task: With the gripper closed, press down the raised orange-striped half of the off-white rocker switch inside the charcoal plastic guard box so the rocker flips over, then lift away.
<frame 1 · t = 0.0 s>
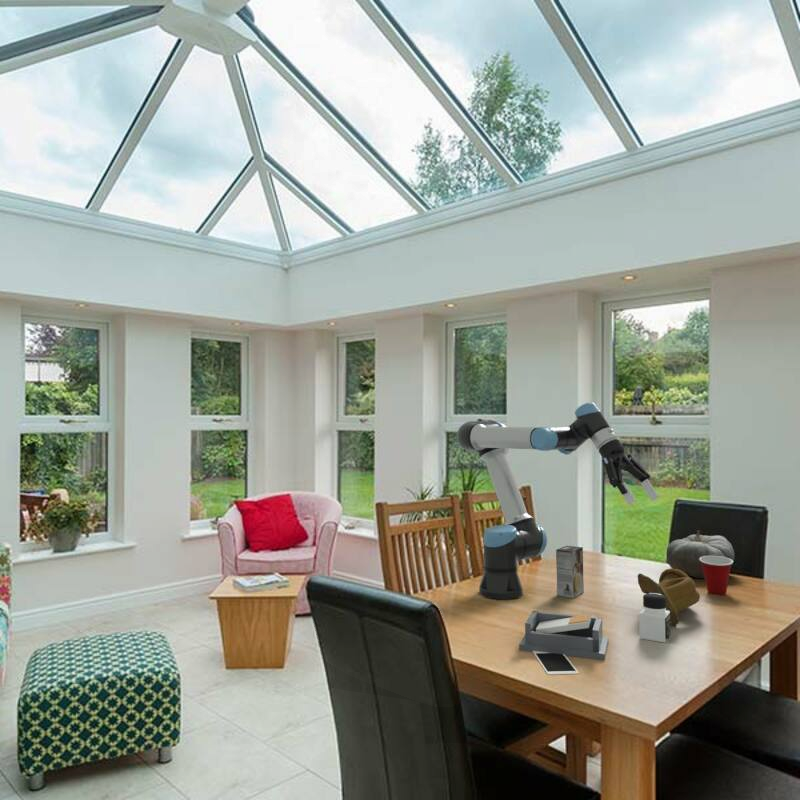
hand: (644, 500, 208), 36 cm above the table, fingers open, 13 cm apart
medicine bottle: (655, 638, 188), on the table
cell phone: (554, 664, 170), on the table
plastic cup: (716, 593, 234), on the table
brown cowboy hat: (669, 616, 208), on the table
gourd: (699, 575, 262), on the table
coffee box: (570, 594, 235), on the table
rocker: (563, 624, 182), point 6 cm above the table, hinge at -14.0°
guard box: (564, 646, 182), on the table
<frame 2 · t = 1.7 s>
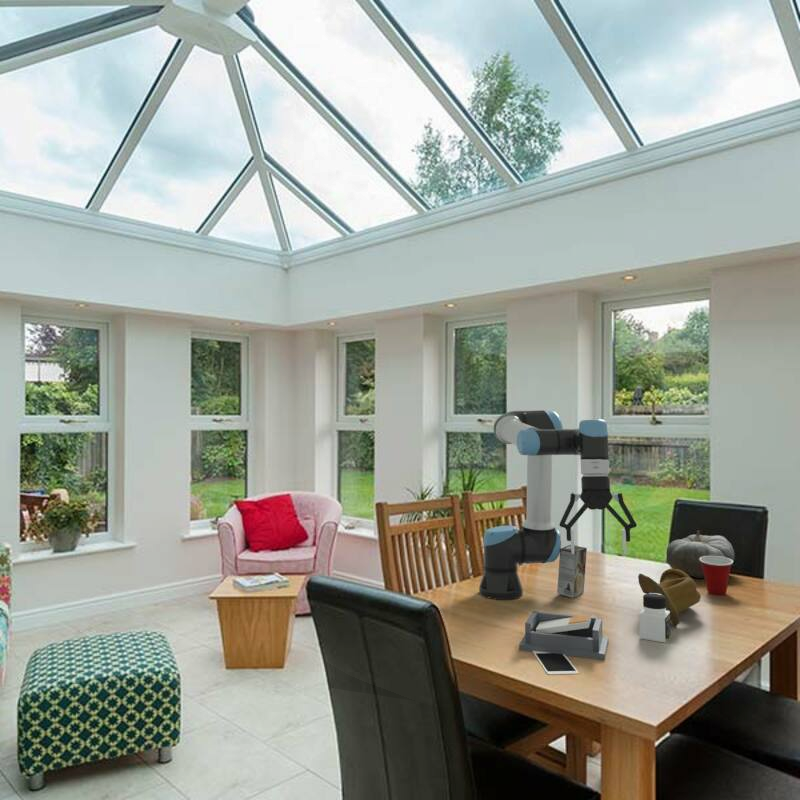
hand: (598, 553, 182), 25 cm above the table, fingers open, 13 cm apart
coffee box: (570, 593, 235), on the table, touching arm
everything else where it was.
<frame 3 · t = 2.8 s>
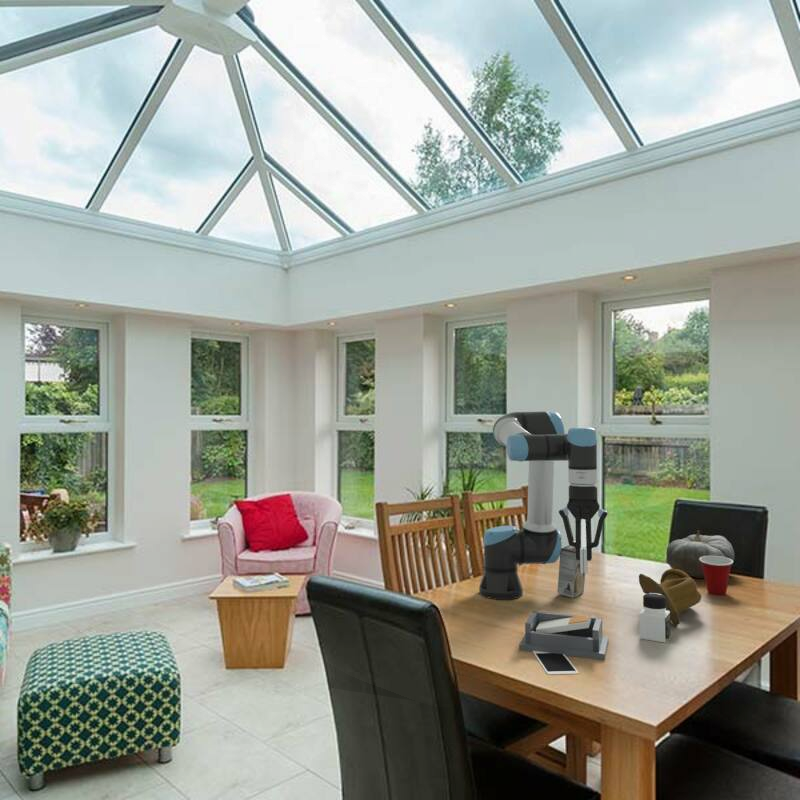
hand: (584, 572, 180), 20 cm above the table, fingers closed
nothing on the table moved.
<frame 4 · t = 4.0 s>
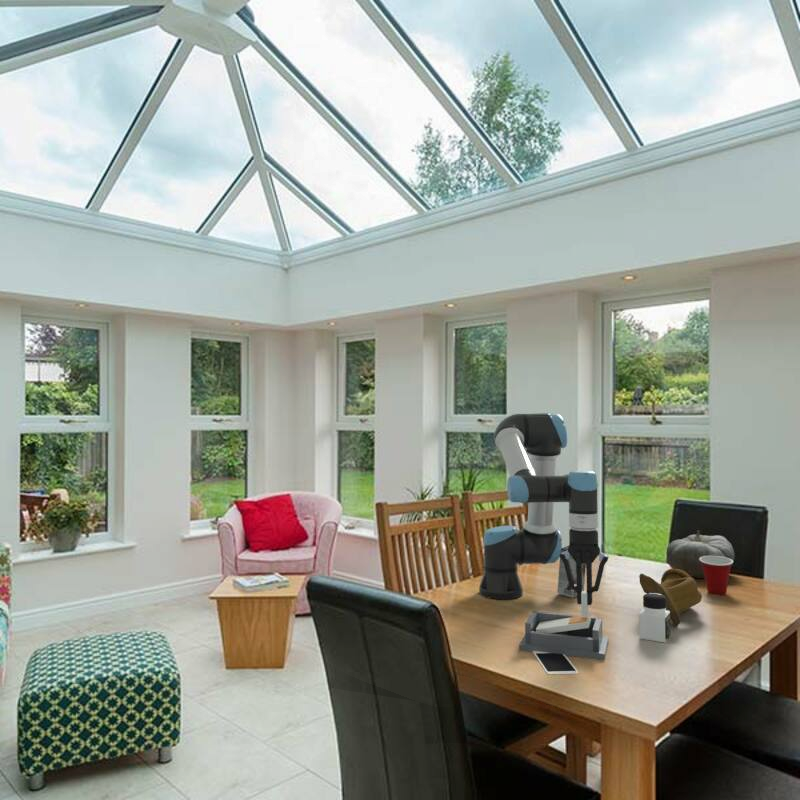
hand: (584, 616, 180), 9 cm above the table, fingers closed
rocker: (563, 624, 182), point 6 cm above the table, hinge at -14.0°, touching gripper
everything else where it was.
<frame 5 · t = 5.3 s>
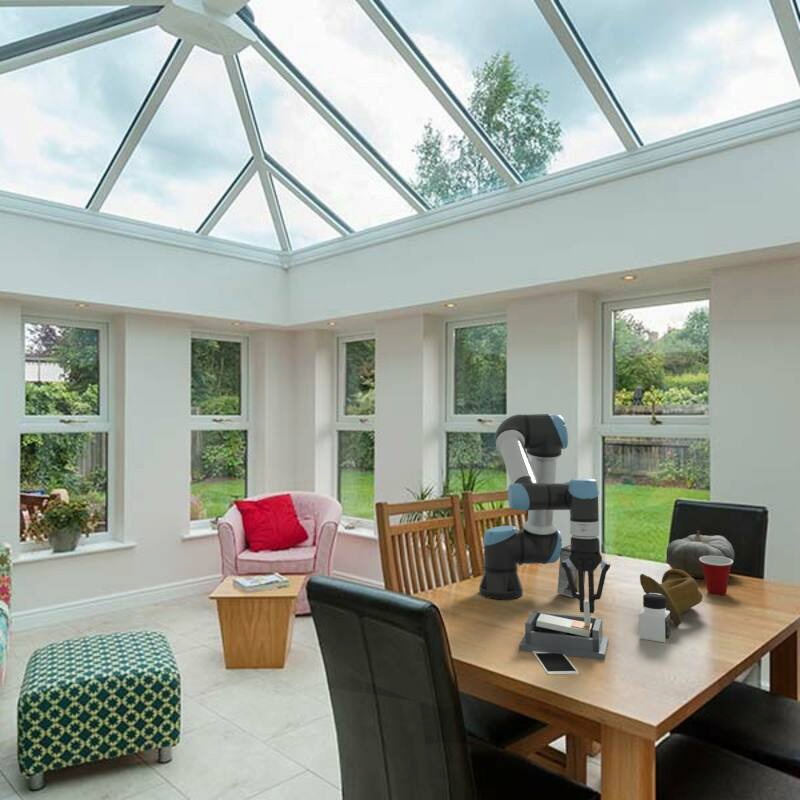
hand: (587, 624, 179), 6 cm above the table, fingers closed
rocker: (564, 624, 182), point 6 cm above the table, hinge at 6.1°, touching gripper
everything else where it was.
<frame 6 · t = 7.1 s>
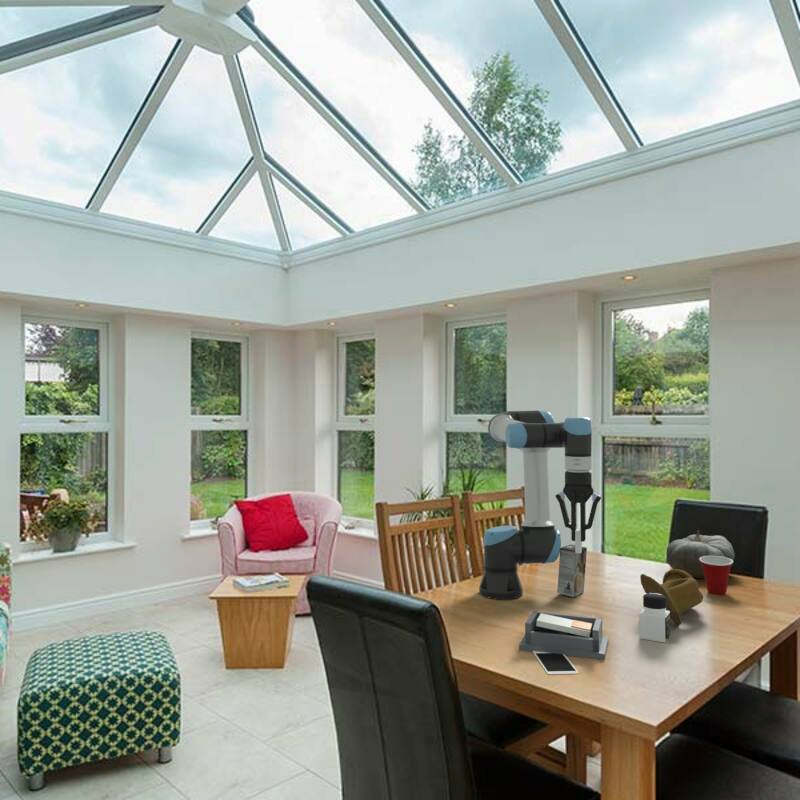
hand: (578, 552, 193), 23 cm above the table, fingers closed
rocker: (564, 624, 182), point 6 cm above the table, hinge at 6.3°
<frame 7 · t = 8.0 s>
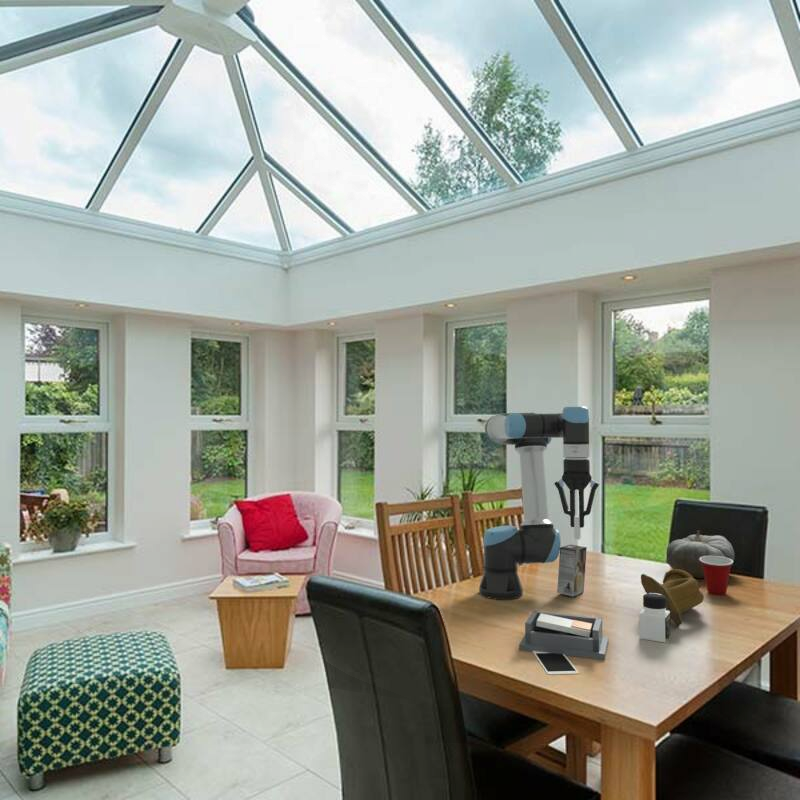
hand: (577, 538, 197), 26 cm above the table, fingers closed
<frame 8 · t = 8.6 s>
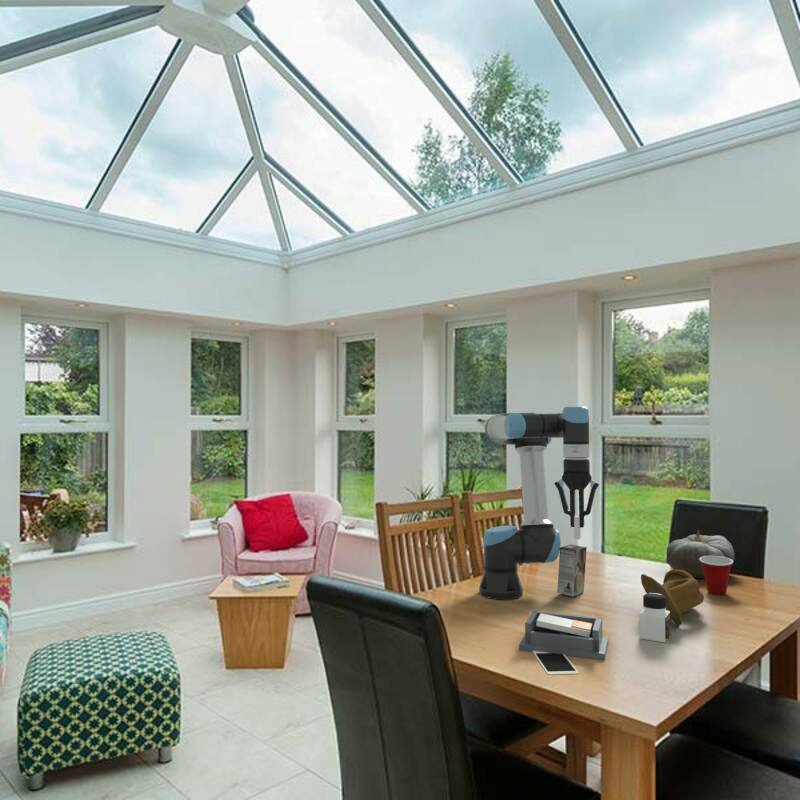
hand: (577, 538, 197), 26 cm above the table, fingers closed
at the end: rocker at +6° (first picture: -14°) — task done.
